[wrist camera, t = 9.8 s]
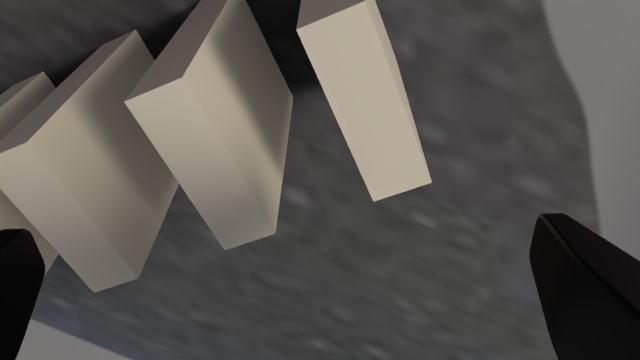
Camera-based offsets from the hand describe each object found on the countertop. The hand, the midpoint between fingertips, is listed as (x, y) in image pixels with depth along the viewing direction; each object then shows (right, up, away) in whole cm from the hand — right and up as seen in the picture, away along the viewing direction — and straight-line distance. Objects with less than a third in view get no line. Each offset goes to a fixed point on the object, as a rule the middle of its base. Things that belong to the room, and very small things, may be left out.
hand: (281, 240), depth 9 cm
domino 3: (-6, +5, +13) cm, 15 cm away
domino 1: (+2, +8, +11) cm, 13 cm away
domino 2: (-2, +6, +12) cm, 13 cm away
